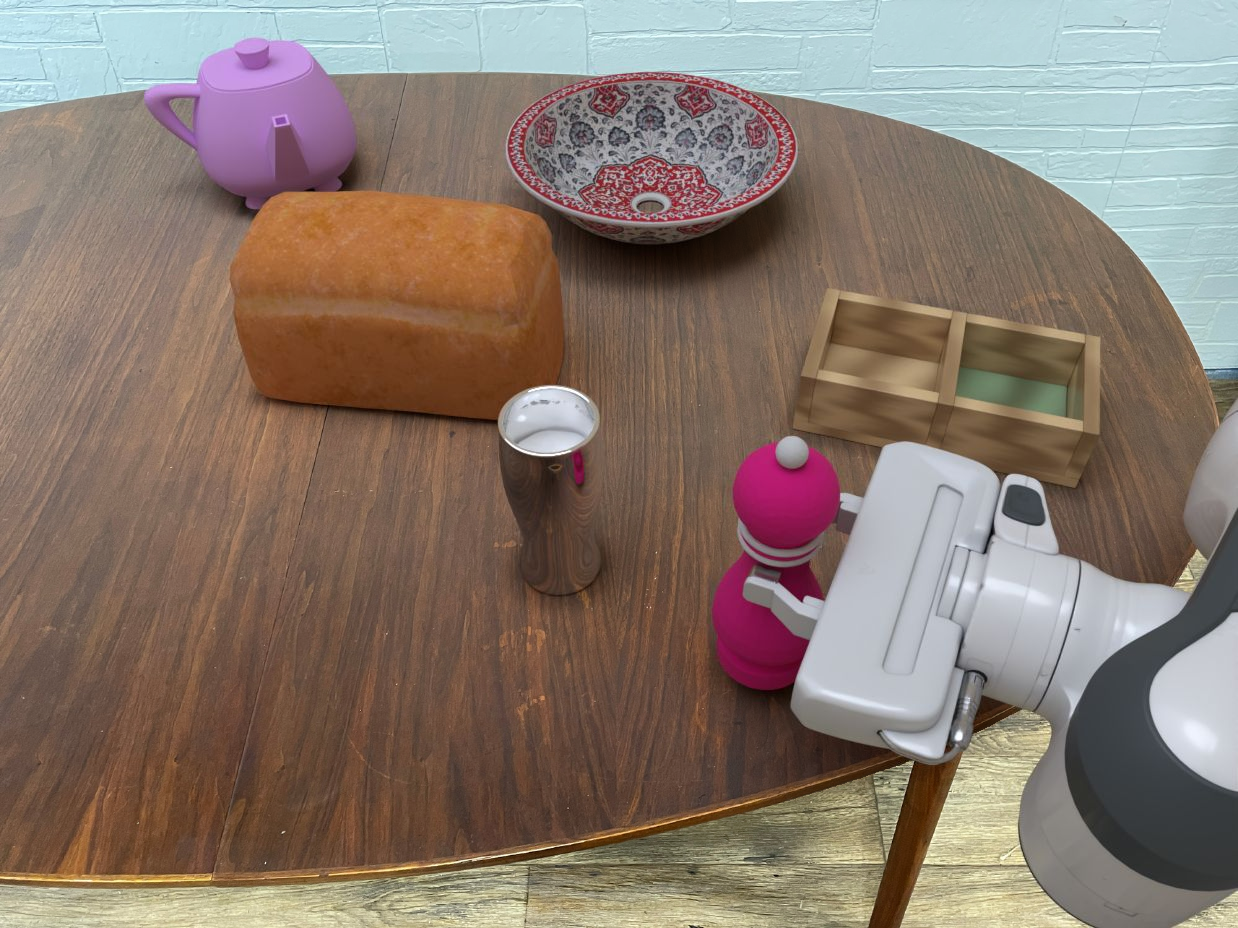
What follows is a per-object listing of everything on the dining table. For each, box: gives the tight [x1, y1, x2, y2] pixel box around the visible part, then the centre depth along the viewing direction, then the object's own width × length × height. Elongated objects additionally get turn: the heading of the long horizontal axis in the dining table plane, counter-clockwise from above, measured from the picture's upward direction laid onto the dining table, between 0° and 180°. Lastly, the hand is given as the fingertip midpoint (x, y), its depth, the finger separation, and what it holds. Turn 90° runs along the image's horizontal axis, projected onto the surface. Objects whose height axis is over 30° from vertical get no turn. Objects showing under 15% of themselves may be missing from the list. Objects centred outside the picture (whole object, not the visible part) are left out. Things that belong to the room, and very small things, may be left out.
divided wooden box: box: [792, 287, 1101, 489], centre depth 86 cm, size 23×12×6 cm, turn 72°
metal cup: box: [497, 384, 605, 596], centre depth 72 cm, size 7×7×15 cm
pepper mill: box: [711, 435, 841, 691], centre depth 63 cm, size 7×7×20 cm
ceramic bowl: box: [504, 71, 799, 245], centre depth 107 cm, size 29×29×8 cm
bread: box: [229, 190, 565, 421], centre depth 87 cm, size 14×26×16 cm, turn 82°
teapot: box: [143, 37, 358, 210], centre depth 108 cm, size 20×20×15 cm
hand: (764, 542), depth 62 cm, fingers closed on pepper mill, 5 cm apart
